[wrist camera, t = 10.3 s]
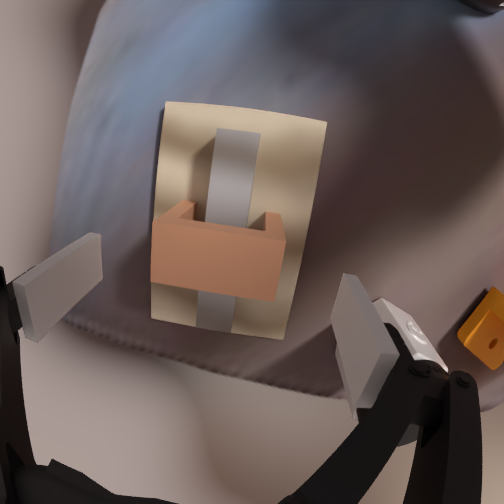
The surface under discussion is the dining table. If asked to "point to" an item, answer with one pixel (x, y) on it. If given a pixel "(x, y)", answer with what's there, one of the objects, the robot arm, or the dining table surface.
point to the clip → (217, 254)
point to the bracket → (486, 330)
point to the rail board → (269, 196)
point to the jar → (417, 348)
